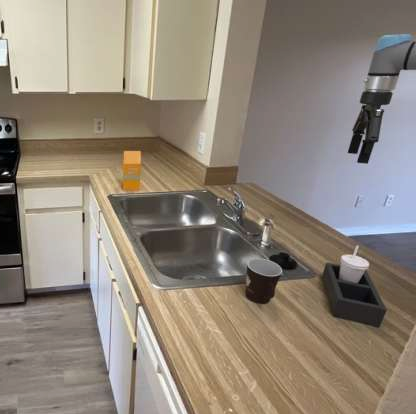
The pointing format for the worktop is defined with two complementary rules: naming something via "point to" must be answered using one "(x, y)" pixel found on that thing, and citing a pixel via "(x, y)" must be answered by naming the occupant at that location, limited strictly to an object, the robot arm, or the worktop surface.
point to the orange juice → (131, 170)
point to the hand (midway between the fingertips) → (356, 158)
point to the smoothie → (352, 267)
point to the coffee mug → (261, 280)
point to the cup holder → (353, 297)
